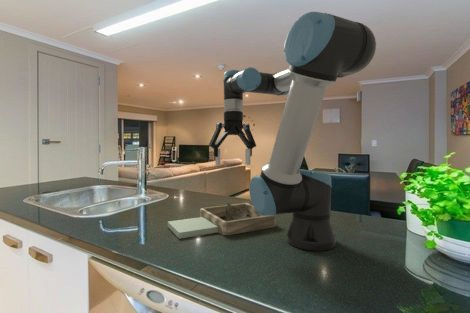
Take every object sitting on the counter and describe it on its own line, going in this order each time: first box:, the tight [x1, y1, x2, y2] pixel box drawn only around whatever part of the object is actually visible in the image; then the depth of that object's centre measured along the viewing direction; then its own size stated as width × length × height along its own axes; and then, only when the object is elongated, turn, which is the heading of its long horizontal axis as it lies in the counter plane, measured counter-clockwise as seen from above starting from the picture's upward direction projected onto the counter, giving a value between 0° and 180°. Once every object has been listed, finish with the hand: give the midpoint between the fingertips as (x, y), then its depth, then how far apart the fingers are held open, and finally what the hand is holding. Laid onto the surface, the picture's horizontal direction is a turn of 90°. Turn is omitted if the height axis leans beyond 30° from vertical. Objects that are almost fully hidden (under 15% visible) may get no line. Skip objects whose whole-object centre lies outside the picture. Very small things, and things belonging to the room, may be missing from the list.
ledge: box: [167, 216, 219, 240], centre depth 99 cm, size 14×14×2 cm
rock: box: [225, 203, 248, 221], centre depth 108 cm, size 11×6×10 cm
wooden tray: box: [199, 202, 277, 236], centre depth 108 cm, size 22×22×4 cm
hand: (233, 165), depth 109 cm, fingers open, 13 cm apart
